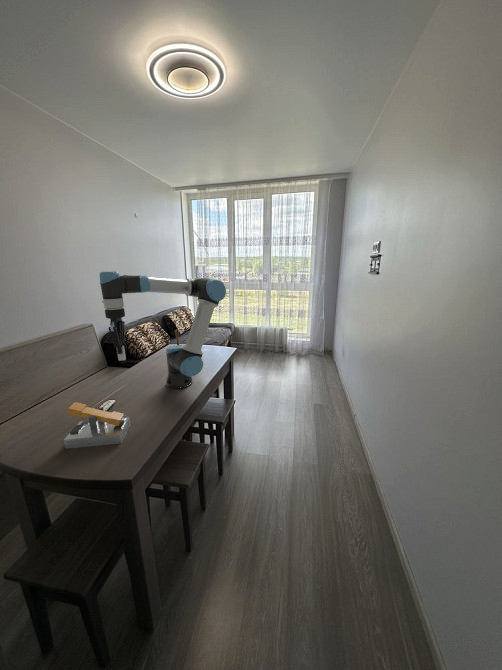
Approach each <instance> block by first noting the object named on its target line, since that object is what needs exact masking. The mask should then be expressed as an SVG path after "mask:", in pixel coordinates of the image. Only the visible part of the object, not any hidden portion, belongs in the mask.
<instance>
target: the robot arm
mask: <svg viewBox="0 0 502 670" xmlns="http://www.w3.org/2000/svg"><path fill="white" fill-rule="evenodd" d="M99 284H100V289H101V296H102V303H103V307H104V308H105V310H104V315H105V319H109V320H110V323H109V325H110V326H108V328H107V329H108V331H109V332H110V333H109V334H110V338H111V340H112V344H113V348H116V353H117V359H118V361H126V359H127V357H126V350H125V346H126V345H127V342H126V332H125V331H126V330H125V329H126V328H125V321H123V319H122V318H125V317H126V312H125V308H124V307H125V305H124V297H123V294H124V295H126V294H139V293H141V294H144V293H156V294H157V293H158V294H160V293H161V294H177V295H185V296H187V297H194V298H197V302H198V305H197V309H196V312H195V314H194V317H193V322H192V324H191V328H190V331H189V334H188V338H187V340H186V343H185V345H184V344H178V345H173V346H169V347H168V348H166V349H165V350H166V352H165V353H166V354H165V355H166V362H167V363H166V365H167V377H166V380H165V383H166V387H167V386H168V387H167V388H169V387H171V388H170V389H172V388H180V387H184V386H187V385H189V384H190V383H191V382H192V381H193V377H195V376H197V375H198V374H199V373H201V371H202V370H203V368H204V361H203V359H202V357H203V351H202V348H203V345H204V342H205V338H206V336H207V333H208V329H209V325H210V323H211V321H212V320H211V319H212V317H213V313H214V310H215V308H217V307H218V306H219V303H220V302H221V301H222V300H224V299H225V297H226V295H227V287H226V286H225V283H224V282H223V281H222V280H221V279H218V278H215V277H214V278H212V277H211V278H210V277H209V278H207V277H201V278H185V279H176V278H174V279H173V278H162V277H152V276H151V277H150V276H148V275H127V274H124V275H120V272H119V271H101V272H99ZM192 383H193V382H192ZM189 386H190V385H189ZM180 389H181V388H180Z"/></svg>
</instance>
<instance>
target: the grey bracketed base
mask: <svg viewBox="0 0 502 670" xmlns="http://www.w3.org/2000/svg"><path fill="white" fill-rule="evenodd" d="M95 409H98V410H102V411H105V410H104V407H102V406H101V407H96V408H95ZM131 426H132V424H131V417H129V416H128V417H125V418H123V419H122V421H121V422H120V424H119V426H116V425H112V424H108V423H106V422H102V421H98V420H97V417H96V416H90V417H89V418H88V420H81V421H79V422H78V423H77V424H76V425H75V426H74V427H73V428H72V430H71V431H70V432H69V433H68V434H67V435H66V437H64V439H63V444H64V447H65V449H66V450H67V449H76V448H77V449H78V448H87V447H88V448H89V447H97V446H98V447H99V446H106V445H117V444H122V443H123V442H124V439H125V437H126V435H127V433H128V432H129V429H130V427H131Z"/></svg>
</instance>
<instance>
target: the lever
mask: <svg viewBox="0 0 502 670" xmlns="http://www.w3.org/2000/svg"><path fill="white" fill-rule="evenodd" d="M66 415H68V416H69V415H70V416H74V417H78V418H80V417H81V418H85V419H89V417H90V416H96V417H97V420H98V421H102V422H106V423H108V424H112V425H116V426H119V424H120V422H121V421H122V419H123V416H124V415H125V413H122V412H119V411H115V410H114V411H112V412H110V411H107V410H106V411H105V410H104V411H102V410H98V409H96V408H94V407H89V406H87V404H86V403H85V404H84V403H81V402H77V401H74V402H73V403H72V404H71V405H70V406H69V407H68V408H67V412H66Z"/></svg>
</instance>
